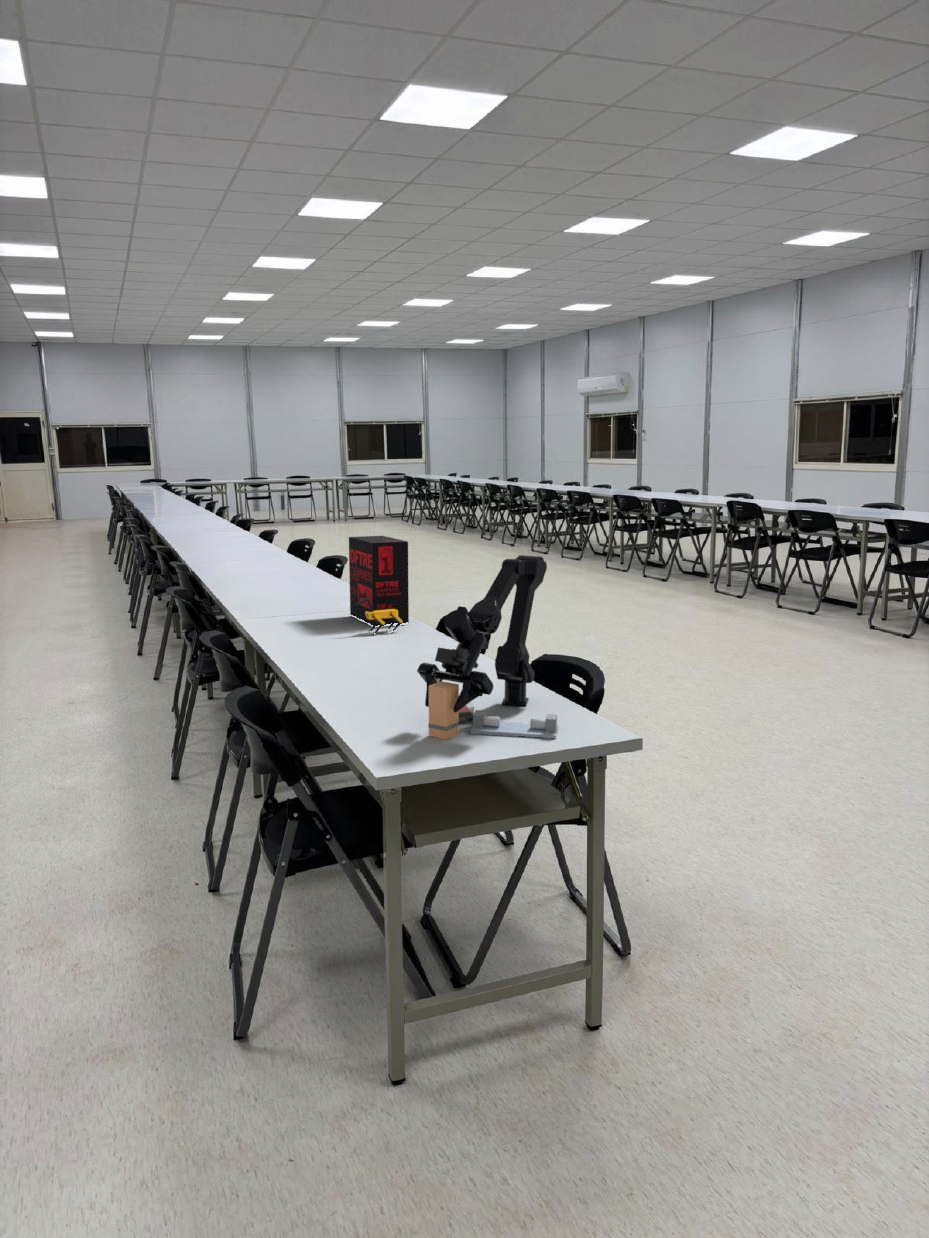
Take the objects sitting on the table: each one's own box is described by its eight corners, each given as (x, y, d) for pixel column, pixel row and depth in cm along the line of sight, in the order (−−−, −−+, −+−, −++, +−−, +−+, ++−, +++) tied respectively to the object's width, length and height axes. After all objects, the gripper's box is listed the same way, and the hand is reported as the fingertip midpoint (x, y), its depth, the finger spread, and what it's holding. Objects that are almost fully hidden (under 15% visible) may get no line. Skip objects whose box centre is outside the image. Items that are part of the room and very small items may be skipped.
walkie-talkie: (483, 724, 216) (462, 702, 235) (483, 707, 215) (462, 686, 234) (448, 727, 214) (430, 704, 233) (448, 709, 213) (430, 688, 232)
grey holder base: (476, 723, 215) (476, 707, 215) (558, 728, 212) (558, 712, 211) (470, 733, 208) (470, 717, 207) (555, 738, 204) (556, 722, 203)
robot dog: (351, 634, 321) (351, 598, 318) (396, 629, 329) (396, 594, 327) (358, 637, 316) (357, 600, 313) (403, 632, 325) (402, 596, 322)
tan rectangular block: (441, 730, 210) (441, 681, 208) (458, 733, 207) (458, 684, 205) (428, 735, 206) (428, 685, 204) (446, 739, 203) (446, 689, 201)
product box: (350, 616, 355) (348, 537, 349) (383, 613, 362) (382, 535, 356) (373, 628, 332) (372, 543, 326) (408, 624, 338) (408, 541, 332)
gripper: (421, 629, 211) (392, 684, 204) (487, 638, 200) (459, 696, 194) (440, 655, 219) (413, 709, 212) (505, 665, 208) (479, 722, 201)
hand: (440, 708), depth 204 cm, fingers open, 8 cm apart
